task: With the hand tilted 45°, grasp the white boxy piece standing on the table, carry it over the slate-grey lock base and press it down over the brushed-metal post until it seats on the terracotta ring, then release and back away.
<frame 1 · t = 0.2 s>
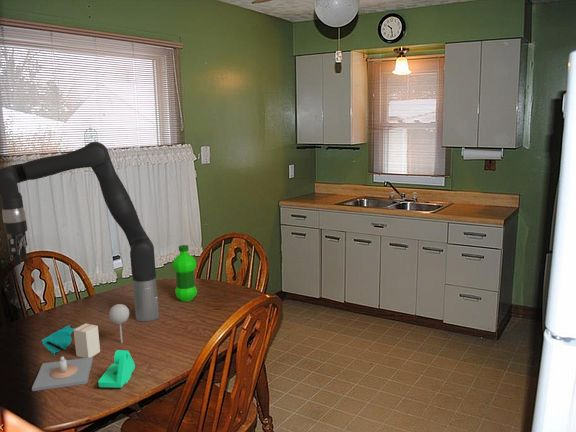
hand: (20, 261, 193), 29 cm above the table, tool pointing down, fingers open, 8 cm apart
camera mount: (117, 380, 163), on the table
lock base: (64, 374, 166), on the table
white boxy piece: (88, 353, 180), on the table
cloth: (60, 341, 192), on the table
lollipop: (121, 343, 188), on the table
plastic bottle: (186, 299, 230), on the table
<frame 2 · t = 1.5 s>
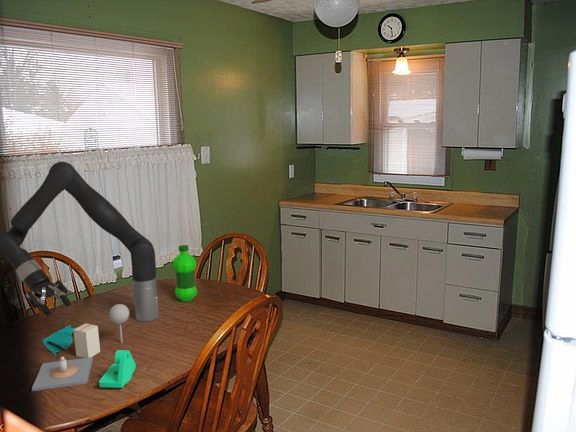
hand: (59, 309, 181), 15 cm above the table, tool tilted 45°, fingers open, 8 cm apart
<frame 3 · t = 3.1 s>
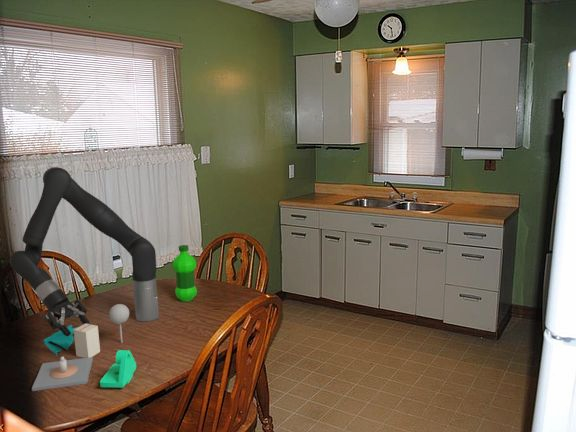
hand: (78, 330, 180), 9 cm above the table, tool tilted 45°, fingers open, 8 cm apart
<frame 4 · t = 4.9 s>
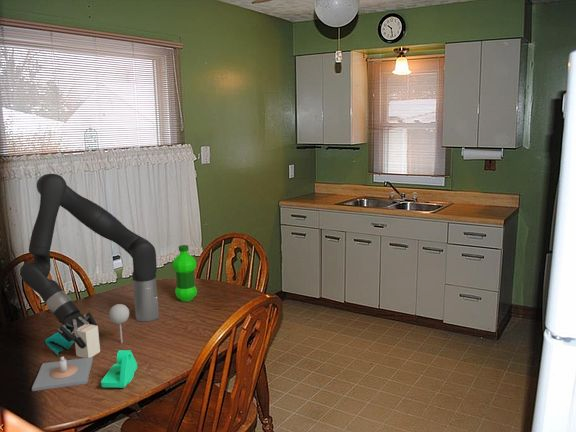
hand: (91, 343, 178), 4 cm above the table, tool tilted 45°, fingers closed on white boxy piece, 5 cm apart
white boxy piece: (88, 353, 180), on the table, touching gripper
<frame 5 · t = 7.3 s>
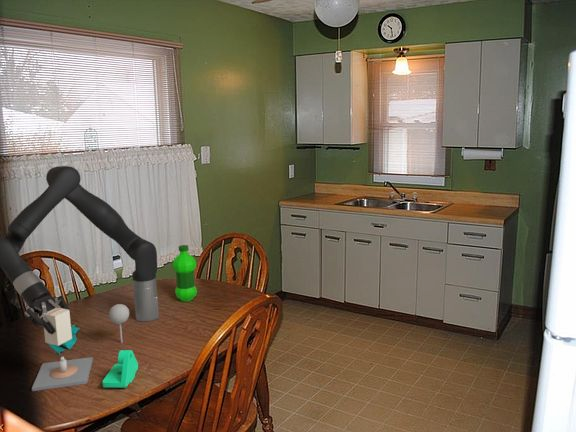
hand: (61, 328, 162), 16 cm above the table, tool tilted 45°, fingers closed on white boxy piece, 5 cm apart
white boxy piece: (58, 340, 164), point 12 cm above the table, touching gripper
when the fingers open (6 cm above the table, at t = 9.7 s): white boxy piece stays where it is, resting on lock base.
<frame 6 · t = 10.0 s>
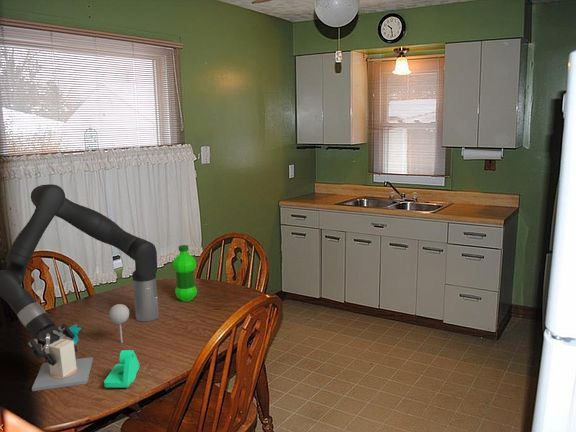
hand: (65, 358, 164), 6 cm above the table, tool tilted 45°, fingers open, 8 cm apart
white boxy piece: (63, 371, 166), point 1 cm above the table, touching lock base
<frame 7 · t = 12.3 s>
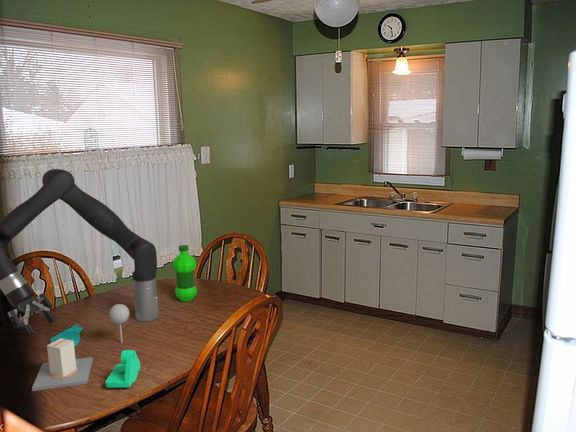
hand: (42, 328, 172), 13 cm above the table, tool tilted 30°, fingers open, 8 cm apart
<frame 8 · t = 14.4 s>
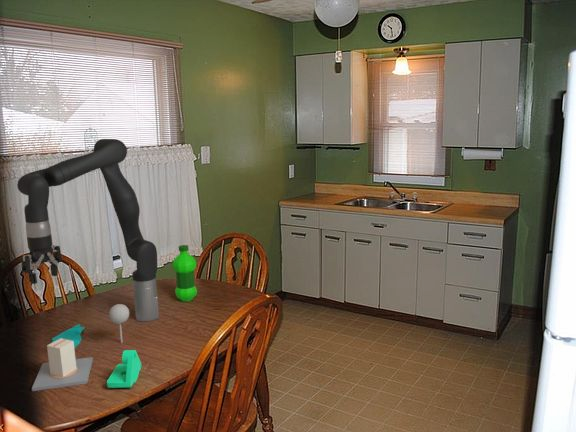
hand: (44, 279, 174), 28 cm above the table, tool pointing down, fingers open, 8 cm apart
at the end: white boxy piece 0.1 cm off-centre on the lock base, point 1.2 cm above the lock base's base; white boxy piece tilted 0°; the gripper is holding nothing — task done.
